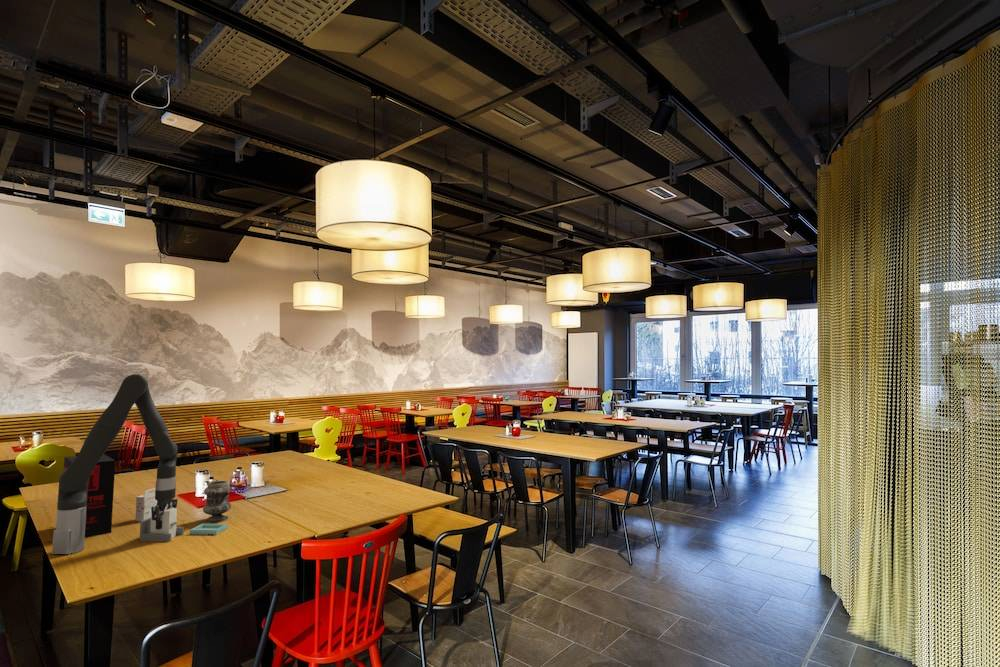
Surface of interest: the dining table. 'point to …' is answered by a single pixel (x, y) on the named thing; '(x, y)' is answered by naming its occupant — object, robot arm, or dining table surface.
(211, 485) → the apothecary jar
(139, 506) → the ink cartridge box
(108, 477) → the product box
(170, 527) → the cream upright block
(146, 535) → the bay
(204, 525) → the tray
